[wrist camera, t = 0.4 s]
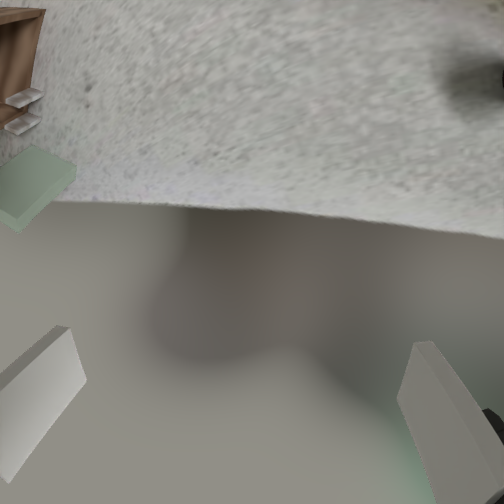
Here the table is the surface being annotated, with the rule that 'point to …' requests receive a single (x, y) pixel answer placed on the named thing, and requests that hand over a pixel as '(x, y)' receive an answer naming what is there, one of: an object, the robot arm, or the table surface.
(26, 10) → the cabinet
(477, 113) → the table surface
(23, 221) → the cabinet door
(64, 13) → the table surface
